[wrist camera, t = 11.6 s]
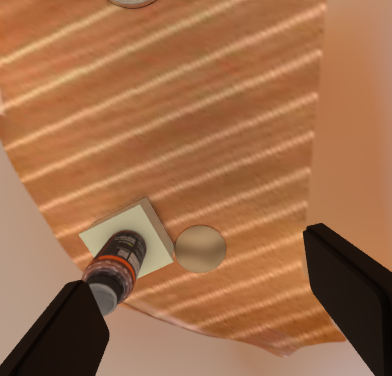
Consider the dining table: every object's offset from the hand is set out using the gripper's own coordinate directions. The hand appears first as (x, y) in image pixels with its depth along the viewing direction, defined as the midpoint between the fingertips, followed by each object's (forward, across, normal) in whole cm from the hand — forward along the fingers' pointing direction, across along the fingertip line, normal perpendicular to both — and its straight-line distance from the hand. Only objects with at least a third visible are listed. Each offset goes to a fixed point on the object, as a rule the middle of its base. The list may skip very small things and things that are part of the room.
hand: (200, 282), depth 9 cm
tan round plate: (+28, +2, +14) cm, 31 cm away
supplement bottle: (+23, +12, +8) cm, 27 cm away
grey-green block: (+28, +12, +8) cm, 32 cm away
